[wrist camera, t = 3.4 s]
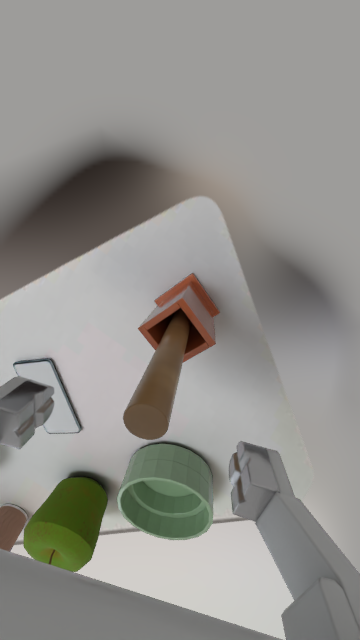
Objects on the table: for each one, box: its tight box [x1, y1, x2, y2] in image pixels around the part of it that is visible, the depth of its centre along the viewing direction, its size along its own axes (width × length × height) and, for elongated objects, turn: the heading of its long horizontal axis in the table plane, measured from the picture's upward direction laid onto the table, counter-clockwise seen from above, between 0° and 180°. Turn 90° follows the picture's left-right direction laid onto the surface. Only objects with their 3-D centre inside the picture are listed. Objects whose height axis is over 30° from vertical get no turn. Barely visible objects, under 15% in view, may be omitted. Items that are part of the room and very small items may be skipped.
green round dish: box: [117, 444, 213, 540], centre depth 34 cm, size 15×15×6 cm
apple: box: [24, 477, 108, 572], centre depth 37 cm, size 12×12×11 cm
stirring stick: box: [123, 308, 191, 440], centre depth 17 cm, size 2×2×18 cm
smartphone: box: [13, 359, 81, 434], centre depth 34 cm, size 7×1×15 cm
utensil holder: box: [138, 273, 220, 362], centre depth 21 cm, size 6×6×10 cm
